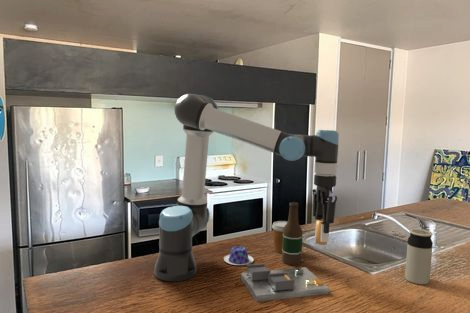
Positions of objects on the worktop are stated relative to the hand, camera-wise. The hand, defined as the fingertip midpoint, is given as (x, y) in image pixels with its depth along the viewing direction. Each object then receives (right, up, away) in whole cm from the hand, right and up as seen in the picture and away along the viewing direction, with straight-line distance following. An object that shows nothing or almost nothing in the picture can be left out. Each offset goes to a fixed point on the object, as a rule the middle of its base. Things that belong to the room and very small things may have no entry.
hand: (321, 239), depth 132 cm
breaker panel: (-14, -15, -5) cm, 21 cm away
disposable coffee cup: (-11, -11, +28) cm, 32 cm away
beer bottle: (-8, -13, +16) cm, 22 cm away
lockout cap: (0, -1, 0) cm, 1 cm away
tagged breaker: (-16, -13, -10) cm, 23 cm away
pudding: (-29, -12, +16) cm, 36 cm away
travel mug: (+35, -15, +2) cm, 38 cm away
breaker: (-23, -12, -3) cm, 26 cm away
